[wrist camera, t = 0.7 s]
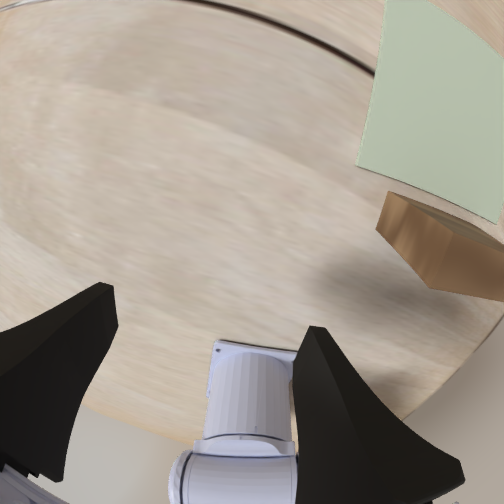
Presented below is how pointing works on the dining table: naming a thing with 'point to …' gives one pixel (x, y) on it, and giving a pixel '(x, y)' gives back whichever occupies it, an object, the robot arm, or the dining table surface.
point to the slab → (443, 248)
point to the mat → (437, 109)
